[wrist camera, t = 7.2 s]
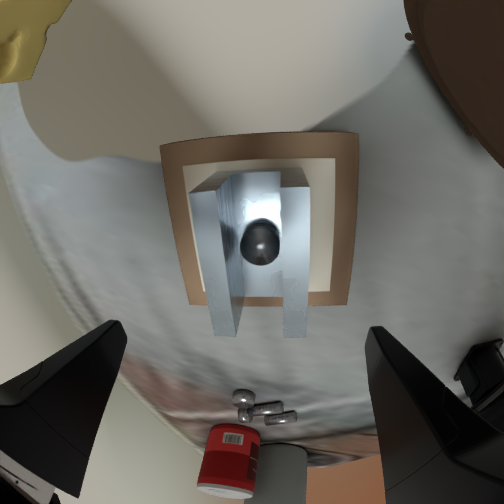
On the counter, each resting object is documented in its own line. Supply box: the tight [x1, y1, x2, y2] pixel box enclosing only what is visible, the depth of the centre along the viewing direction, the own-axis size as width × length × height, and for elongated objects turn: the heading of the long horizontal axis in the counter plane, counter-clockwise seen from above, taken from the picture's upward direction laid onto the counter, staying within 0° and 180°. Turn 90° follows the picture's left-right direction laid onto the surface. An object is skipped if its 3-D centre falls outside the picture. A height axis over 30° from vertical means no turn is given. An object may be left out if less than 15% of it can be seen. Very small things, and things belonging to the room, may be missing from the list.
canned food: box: [197, 424, 260, 499], centre depth 30 cm, size 8×8×11 cm
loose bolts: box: [232, 389, 297, 426], centre depth 29 cm, size 6×8×2 cm
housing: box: [189, 167, 310, 338], centre depth 15 cm, size 8×5×5 cm, turn 5°
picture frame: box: [160, 132, 359, 306], centre depth 18 cm, size 12×12×2 cm
